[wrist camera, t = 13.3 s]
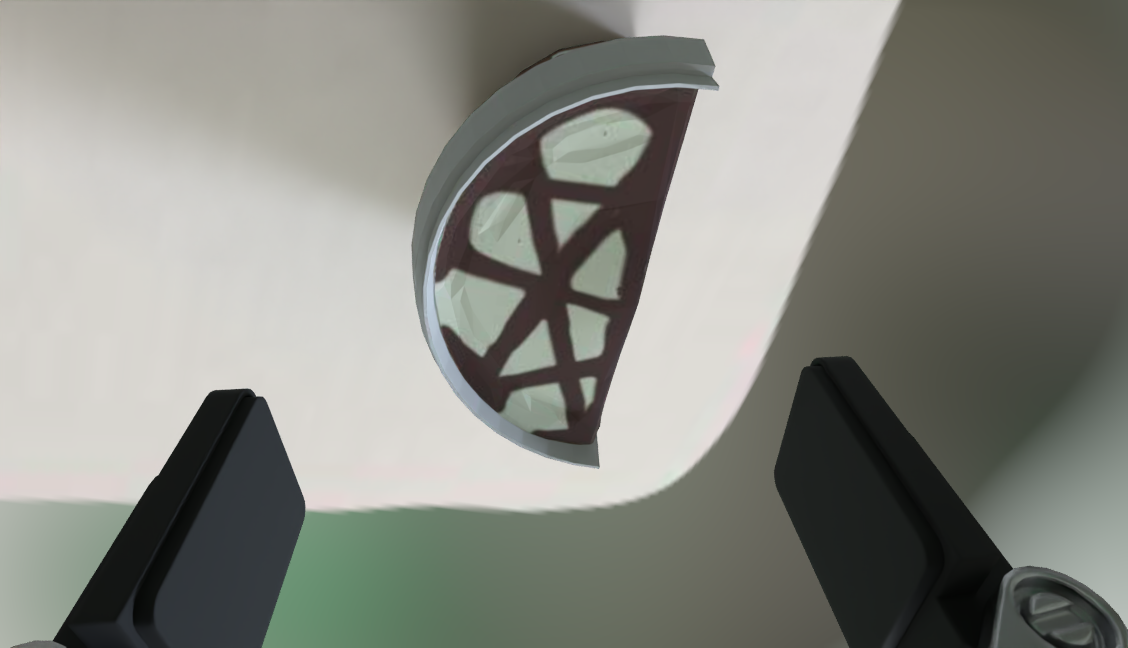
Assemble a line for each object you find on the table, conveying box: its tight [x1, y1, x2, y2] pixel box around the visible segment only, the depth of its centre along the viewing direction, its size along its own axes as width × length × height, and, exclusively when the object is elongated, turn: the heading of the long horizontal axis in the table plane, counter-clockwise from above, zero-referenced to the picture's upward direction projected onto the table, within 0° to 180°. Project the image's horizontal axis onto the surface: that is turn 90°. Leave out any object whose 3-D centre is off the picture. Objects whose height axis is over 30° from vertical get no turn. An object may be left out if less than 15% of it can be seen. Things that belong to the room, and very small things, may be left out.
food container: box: [412, 36, 719, 469], centre depth 19 cm, size 12×6×10 cm, turn 169°
